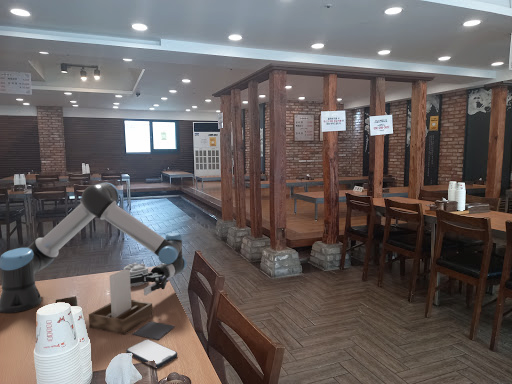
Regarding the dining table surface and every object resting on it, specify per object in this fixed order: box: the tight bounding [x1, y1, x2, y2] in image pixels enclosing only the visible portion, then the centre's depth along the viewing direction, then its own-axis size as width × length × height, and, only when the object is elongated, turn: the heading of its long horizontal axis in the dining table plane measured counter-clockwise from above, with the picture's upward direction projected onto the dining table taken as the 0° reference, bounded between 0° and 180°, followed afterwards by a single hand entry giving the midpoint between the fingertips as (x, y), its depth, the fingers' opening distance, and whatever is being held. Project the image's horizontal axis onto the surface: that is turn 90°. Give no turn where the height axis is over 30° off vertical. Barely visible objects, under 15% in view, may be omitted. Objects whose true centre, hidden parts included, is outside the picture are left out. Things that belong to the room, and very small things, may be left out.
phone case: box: [125, 338, 178, 369], centre depth 112 cm, size 9×2×16 cm
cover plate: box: [109, 268, 132, 318], centre depth 134 cm, size 2×8×18 cm, turn 159°
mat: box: [131, 320, 176, 341], centre depth 127 cm, size 11×10×1 cm
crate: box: [88, 299, 154, 336], centre depth 135 cm, size 16×16×5 cm
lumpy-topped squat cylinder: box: [123, 262, 149, 287], centre depth 177 cm, size 10×13×9 cm
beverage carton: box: [54, 295, 78, 306], centre depth 135 cm, size 8×19×7 cm, turn 25°
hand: (130, 289), depth 138 cm, fingers open, 13 cm apart
